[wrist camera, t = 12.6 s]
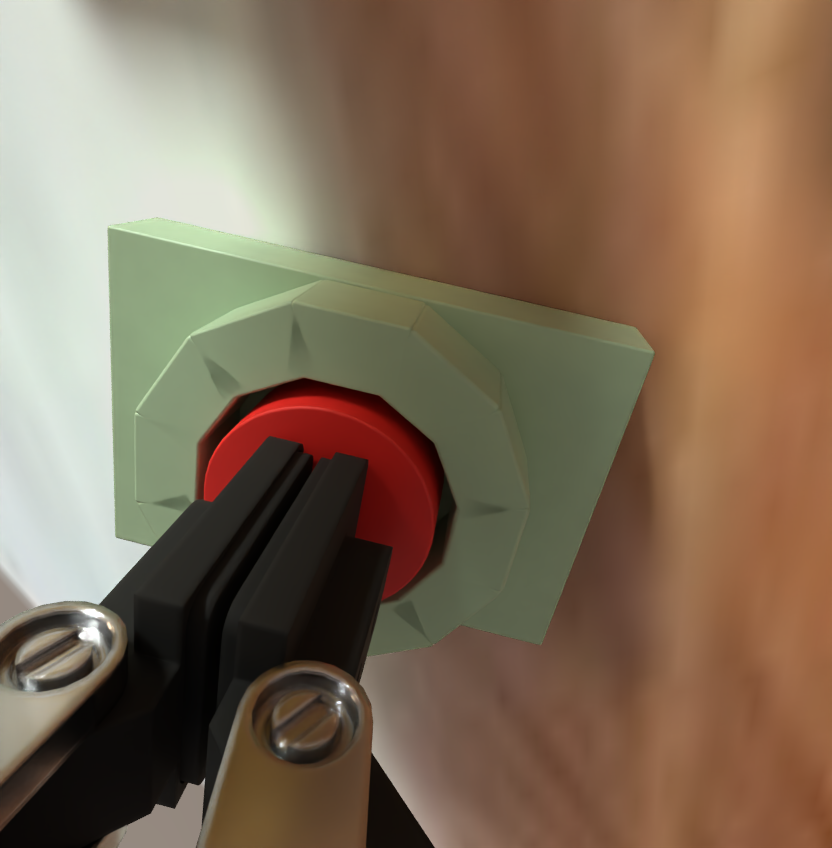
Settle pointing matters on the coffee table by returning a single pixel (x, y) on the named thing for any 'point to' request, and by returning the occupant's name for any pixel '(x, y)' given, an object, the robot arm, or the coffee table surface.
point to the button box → (394, 382)
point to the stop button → (357, 436)
